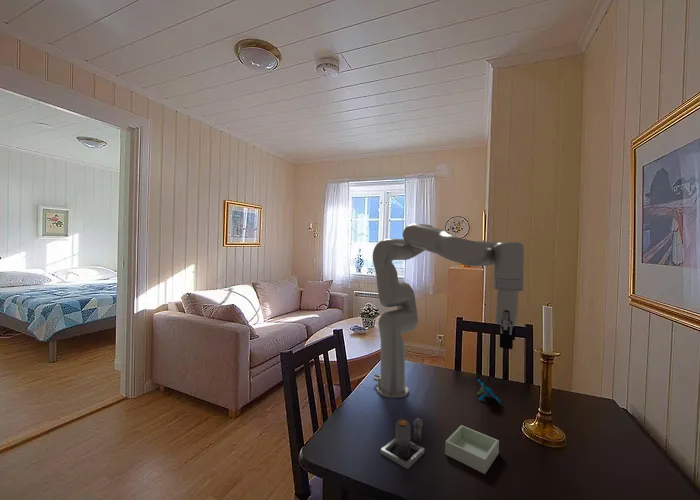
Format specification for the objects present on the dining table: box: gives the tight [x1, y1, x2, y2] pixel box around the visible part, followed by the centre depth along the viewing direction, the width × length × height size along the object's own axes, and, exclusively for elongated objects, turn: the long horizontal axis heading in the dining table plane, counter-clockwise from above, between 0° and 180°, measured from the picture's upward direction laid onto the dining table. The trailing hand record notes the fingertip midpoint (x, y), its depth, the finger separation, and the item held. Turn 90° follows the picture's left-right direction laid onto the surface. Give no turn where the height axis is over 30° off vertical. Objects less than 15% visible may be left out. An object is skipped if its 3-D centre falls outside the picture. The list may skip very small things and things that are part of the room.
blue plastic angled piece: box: [476, 378, 502, 404], centre depth 113 cm, size 11×6×10 cm
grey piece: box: [380, 417, 425, 470], centre depth 86 cm, size 9×14×6 cm, turn 137°
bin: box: [444, 424, 500, 475], centre depth 84 cm, size 11×11×4 cm
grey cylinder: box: [394, 418, 411, 459], centre depth 84 cm, size 4×4×9 cm
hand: (507, 343), depth 88 cm, fingers open, 9 cm apart
